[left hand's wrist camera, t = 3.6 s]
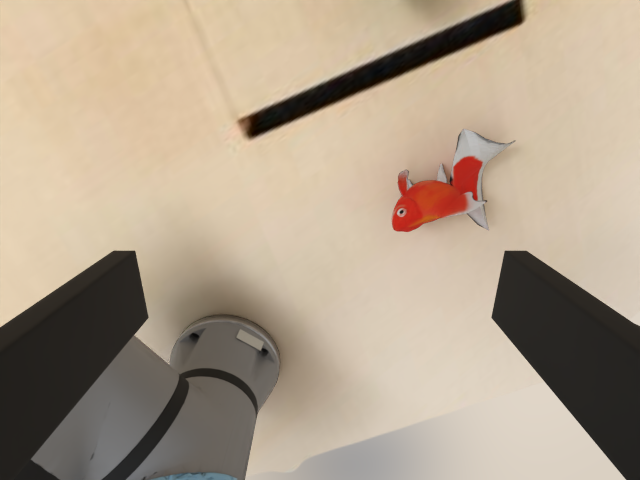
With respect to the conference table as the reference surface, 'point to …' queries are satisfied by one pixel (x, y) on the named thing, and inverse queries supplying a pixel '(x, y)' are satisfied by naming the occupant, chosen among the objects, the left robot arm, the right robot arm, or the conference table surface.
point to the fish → (448, 187)
